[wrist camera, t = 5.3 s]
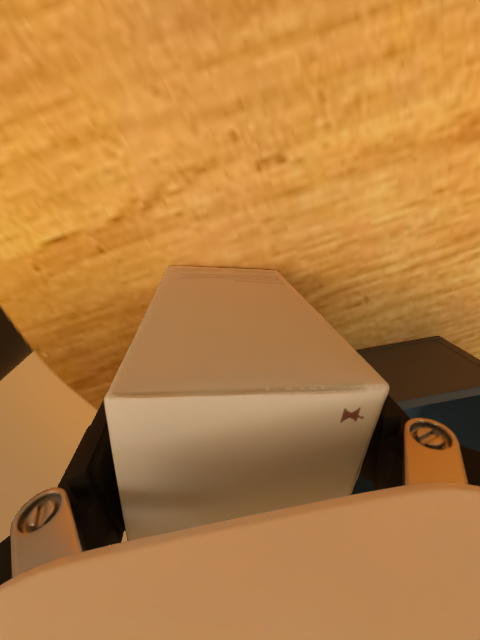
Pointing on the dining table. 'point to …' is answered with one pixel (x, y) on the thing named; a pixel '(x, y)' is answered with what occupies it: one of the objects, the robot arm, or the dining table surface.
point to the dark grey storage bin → (430, 387)
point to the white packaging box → (235, 403)
